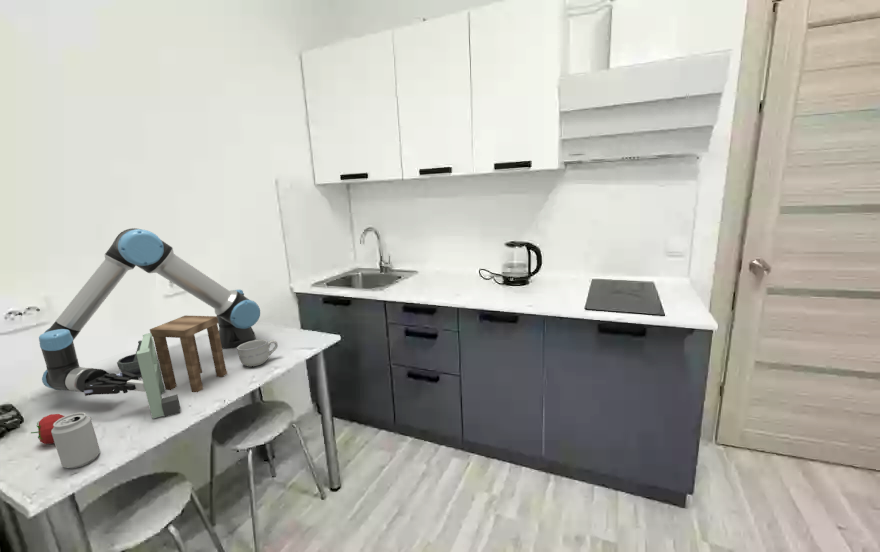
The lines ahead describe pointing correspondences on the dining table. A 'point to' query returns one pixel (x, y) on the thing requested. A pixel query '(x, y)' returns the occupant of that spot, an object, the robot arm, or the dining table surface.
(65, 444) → the can
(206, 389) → the dining table surface
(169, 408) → the block
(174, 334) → the stool
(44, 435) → the tomato
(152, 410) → the frame
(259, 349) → the teacup
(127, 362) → the mortar and pestle
